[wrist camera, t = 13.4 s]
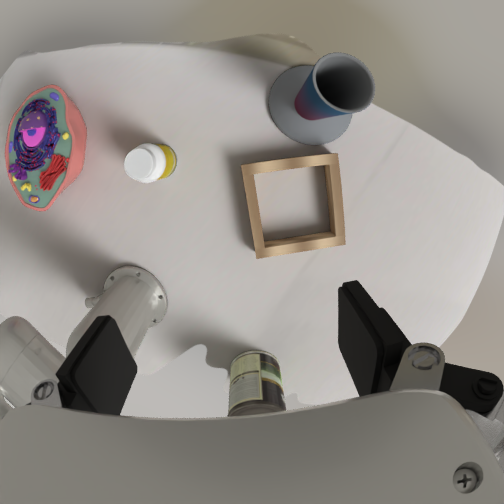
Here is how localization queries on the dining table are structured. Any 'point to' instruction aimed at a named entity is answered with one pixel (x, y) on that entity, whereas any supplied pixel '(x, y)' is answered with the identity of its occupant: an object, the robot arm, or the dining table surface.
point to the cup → (335, 88)
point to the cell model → (45, 147)
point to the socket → (306, 241)
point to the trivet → (291, 120)
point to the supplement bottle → (150, 162)
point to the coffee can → (255, 385)
